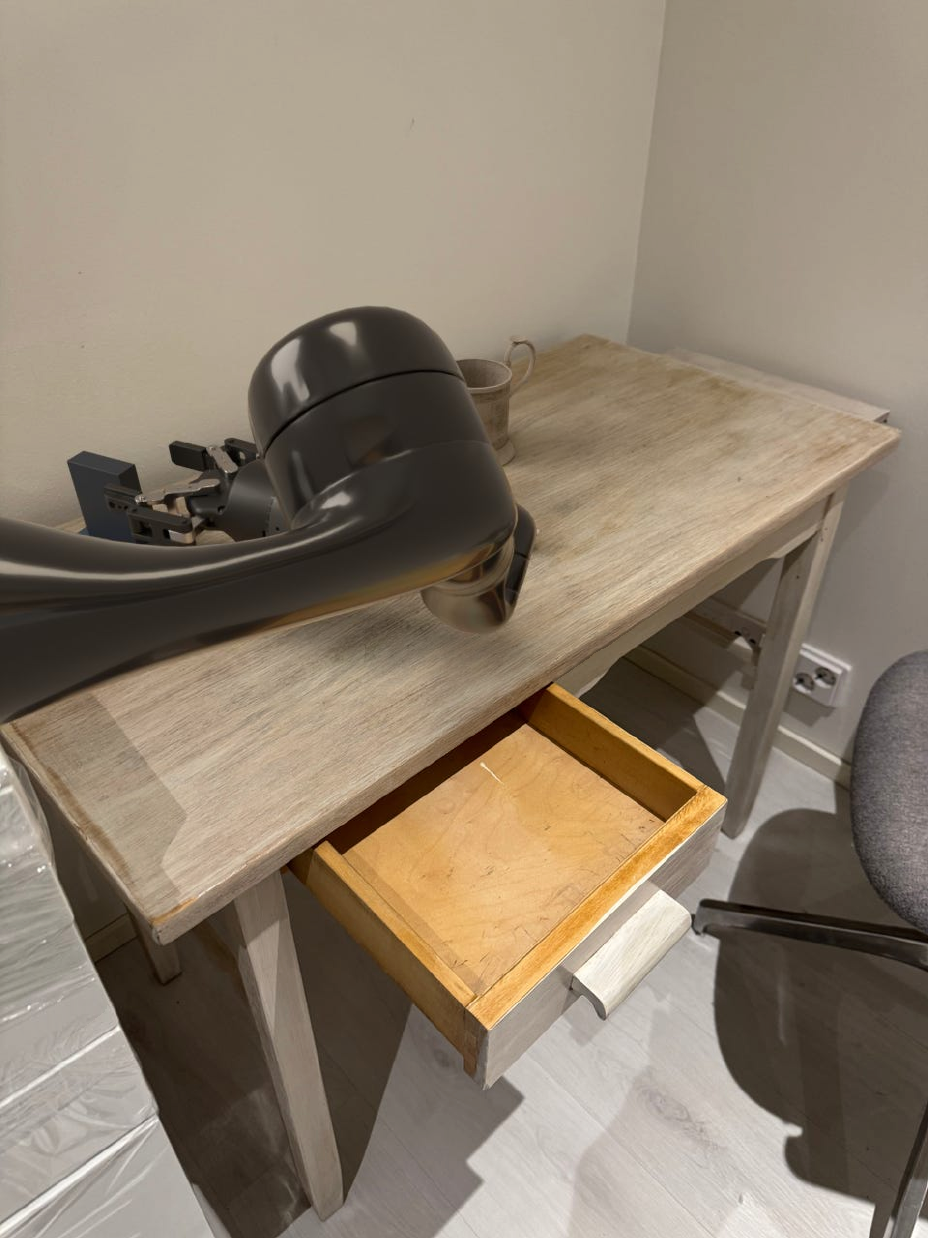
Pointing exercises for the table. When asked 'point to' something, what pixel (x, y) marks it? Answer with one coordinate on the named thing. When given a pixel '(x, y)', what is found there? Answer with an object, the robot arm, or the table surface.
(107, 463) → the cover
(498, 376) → the mug
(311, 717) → the table surface
